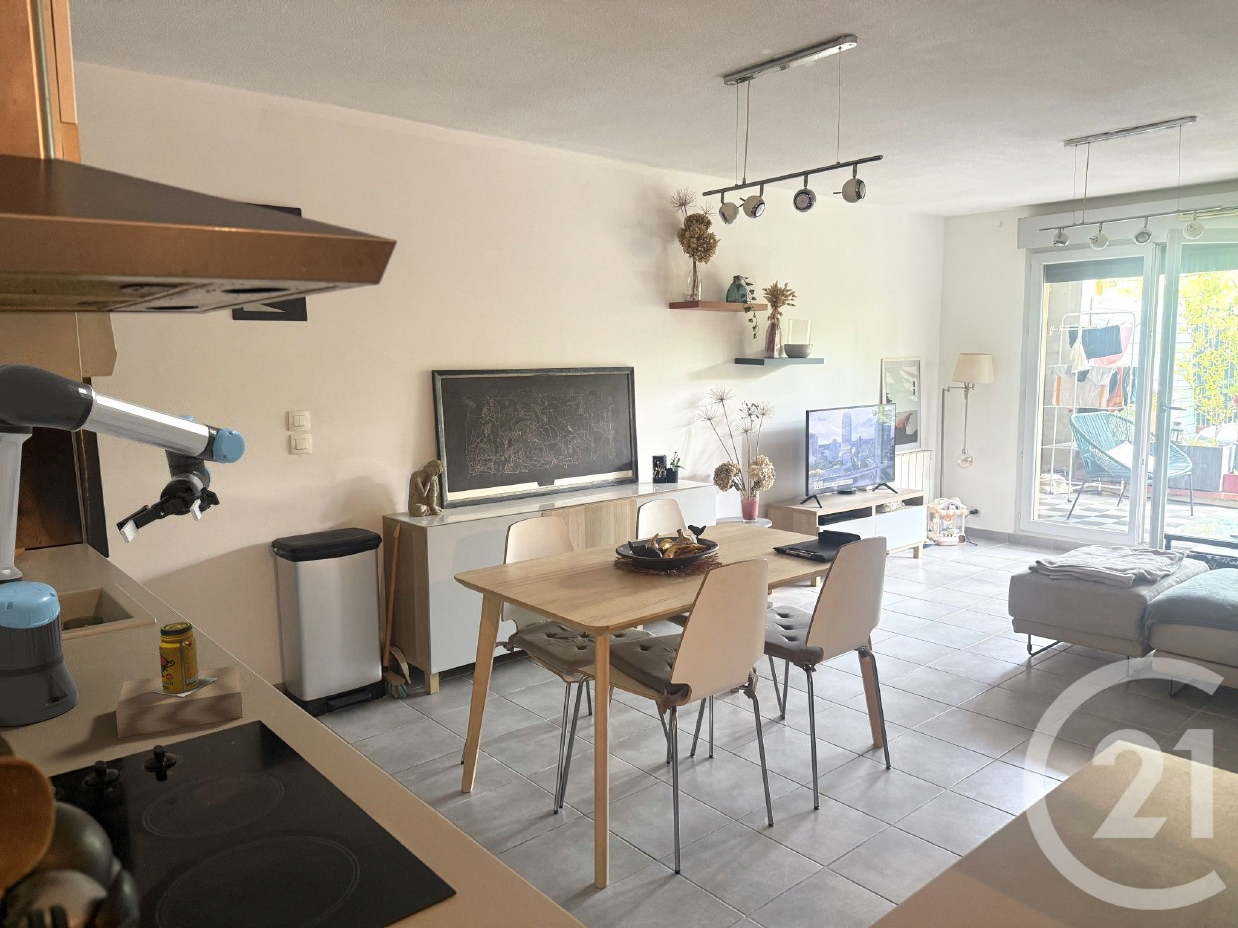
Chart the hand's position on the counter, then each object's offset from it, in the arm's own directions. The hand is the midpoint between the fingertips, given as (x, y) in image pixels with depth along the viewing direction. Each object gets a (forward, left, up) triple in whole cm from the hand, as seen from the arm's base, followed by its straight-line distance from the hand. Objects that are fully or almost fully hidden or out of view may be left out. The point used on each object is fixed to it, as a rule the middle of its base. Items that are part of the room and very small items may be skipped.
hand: (159, 525), depth 174 cm
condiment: (+3, -20, -27) cm, 34 cm away
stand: (+3, -20, -32) cm, 38 cm away
